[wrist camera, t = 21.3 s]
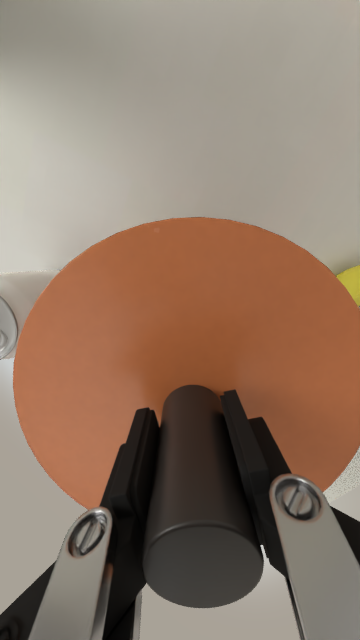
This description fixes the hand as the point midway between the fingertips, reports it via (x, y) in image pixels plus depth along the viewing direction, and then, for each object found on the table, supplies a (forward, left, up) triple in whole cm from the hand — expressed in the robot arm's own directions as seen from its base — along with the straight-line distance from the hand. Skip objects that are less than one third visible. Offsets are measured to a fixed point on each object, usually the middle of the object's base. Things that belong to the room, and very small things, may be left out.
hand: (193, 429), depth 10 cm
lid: (0, 0, -2) cm, 2 cm away
